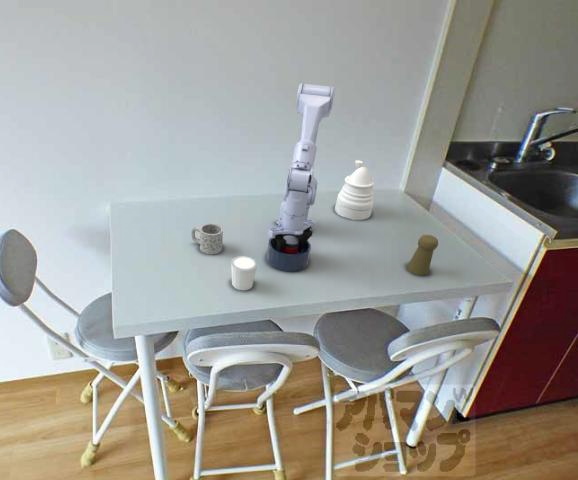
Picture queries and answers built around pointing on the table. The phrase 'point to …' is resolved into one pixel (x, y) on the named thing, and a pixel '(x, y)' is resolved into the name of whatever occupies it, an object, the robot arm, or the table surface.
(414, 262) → the cork
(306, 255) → the dark blue round bowl
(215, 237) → the mug
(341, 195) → the honey pot
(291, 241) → the can
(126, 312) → the table surface
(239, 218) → the table surface
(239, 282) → the white tapered cylinder
